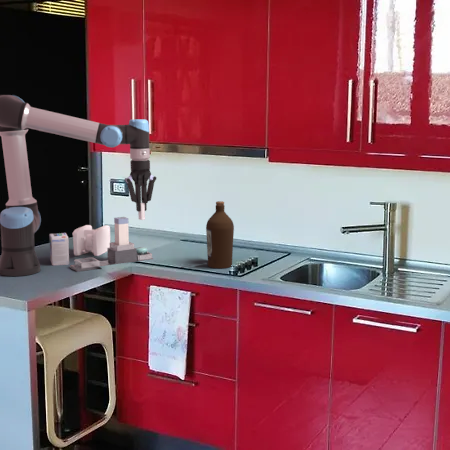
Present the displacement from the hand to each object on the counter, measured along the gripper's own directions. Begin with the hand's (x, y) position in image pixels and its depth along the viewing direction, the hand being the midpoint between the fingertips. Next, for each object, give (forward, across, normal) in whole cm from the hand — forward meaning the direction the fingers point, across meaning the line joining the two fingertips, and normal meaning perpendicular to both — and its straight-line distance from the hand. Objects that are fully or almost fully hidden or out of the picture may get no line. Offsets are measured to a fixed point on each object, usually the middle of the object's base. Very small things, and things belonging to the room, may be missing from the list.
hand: (141, 219), depth 274 cm
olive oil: (+17, +21, -24) cm, 36 cm away
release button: (+13, 0, 0) cm, 13 cm away
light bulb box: (+17, -29, +15) cm, 37 cm away
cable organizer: (+17, -13, +21) cm, 30 cm away
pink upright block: (+11, -9, 0) cm, 14 cm away
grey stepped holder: (+17, -13, 0) cm, 21 cm away
